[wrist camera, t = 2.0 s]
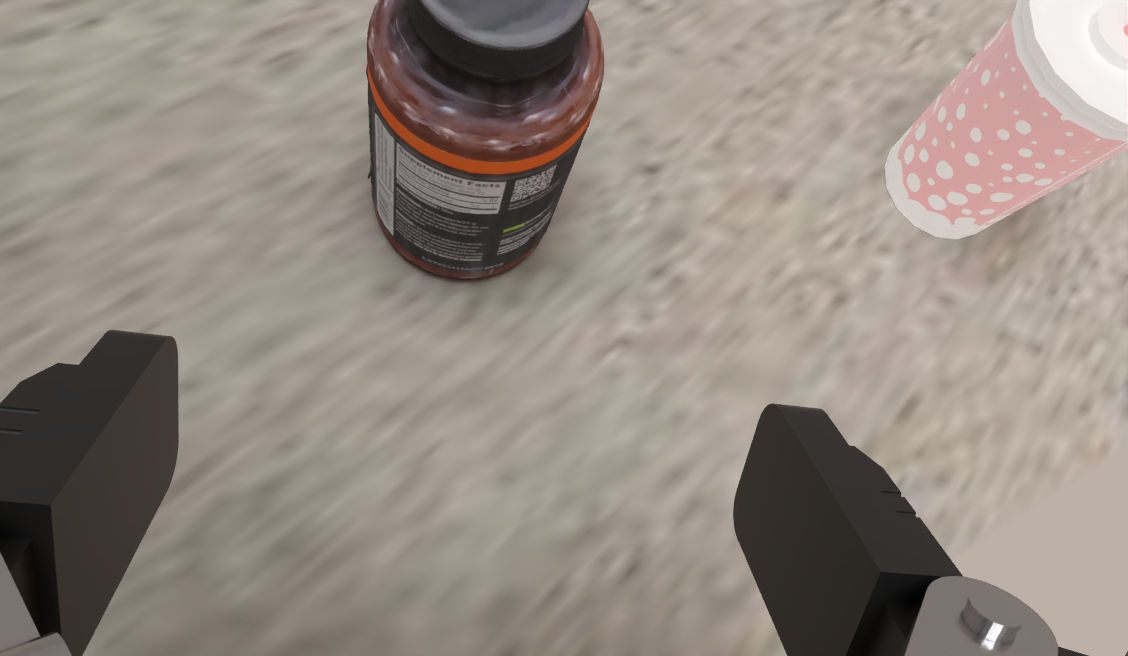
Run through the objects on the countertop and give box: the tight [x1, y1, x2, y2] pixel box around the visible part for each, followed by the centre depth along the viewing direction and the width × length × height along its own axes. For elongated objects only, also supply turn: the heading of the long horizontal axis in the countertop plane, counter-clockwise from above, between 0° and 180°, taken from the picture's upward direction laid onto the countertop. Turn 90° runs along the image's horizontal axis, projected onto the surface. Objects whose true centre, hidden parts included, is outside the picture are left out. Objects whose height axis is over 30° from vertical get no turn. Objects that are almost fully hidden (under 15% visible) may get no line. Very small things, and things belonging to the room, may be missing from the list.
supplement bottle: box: [366, 0, 604, 279], centre depth 24 cm, size 6×6×11 cm
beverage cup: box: [885, 0, 1128, 240], centre depth 27 cm, size 6×6×14 cm
